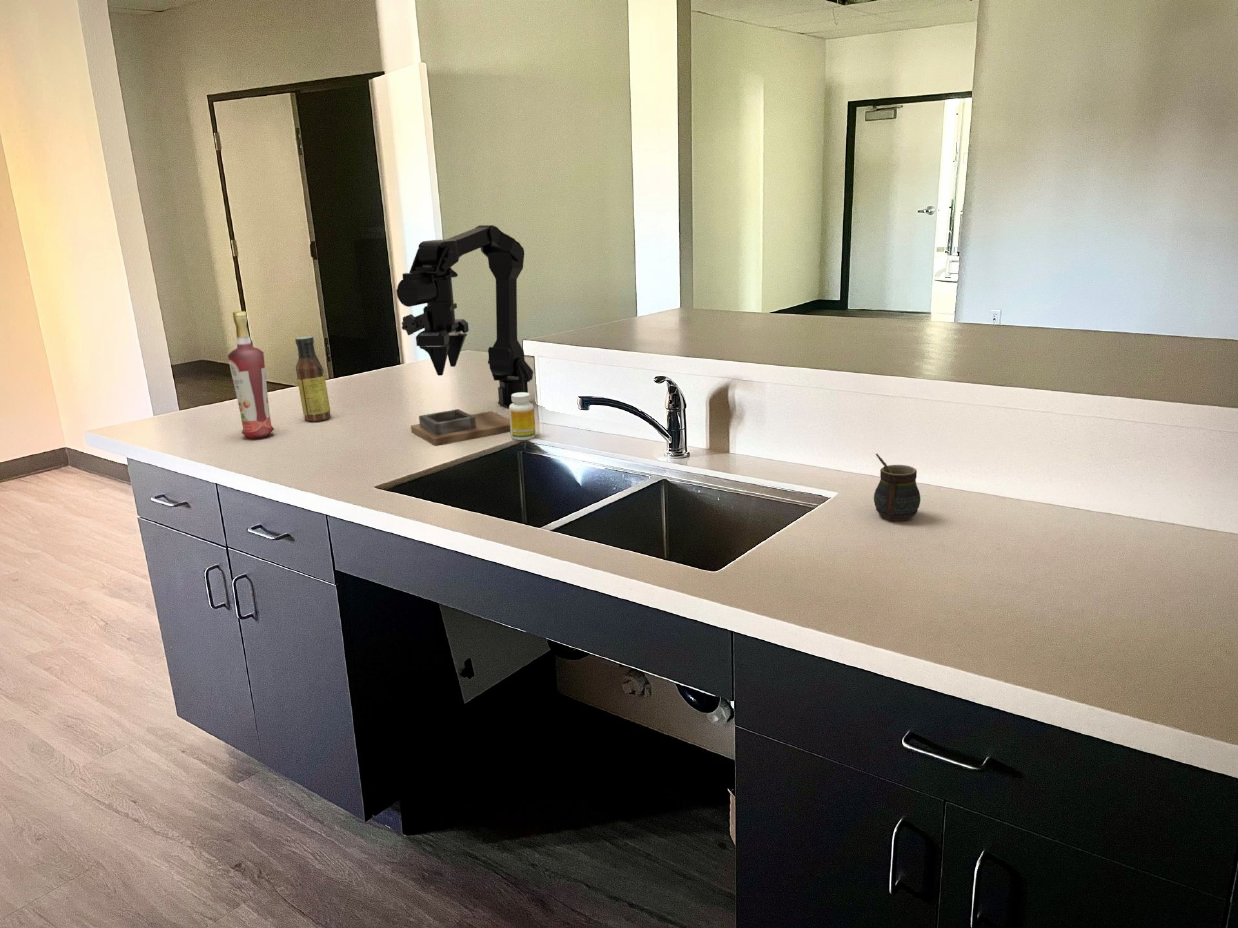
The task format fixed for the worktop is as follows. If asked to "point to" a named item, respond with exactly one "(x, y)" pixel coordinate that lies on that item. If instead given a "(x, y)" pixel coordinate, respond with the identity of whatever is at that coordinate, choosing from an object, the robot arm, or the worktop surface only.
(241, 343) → the liquor
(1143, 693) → the worktop surface
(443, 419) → the socket board
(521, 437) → the supplement bottle
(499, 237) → the robot arm
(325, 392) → the sauce bottle
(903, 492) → the mate gourd
